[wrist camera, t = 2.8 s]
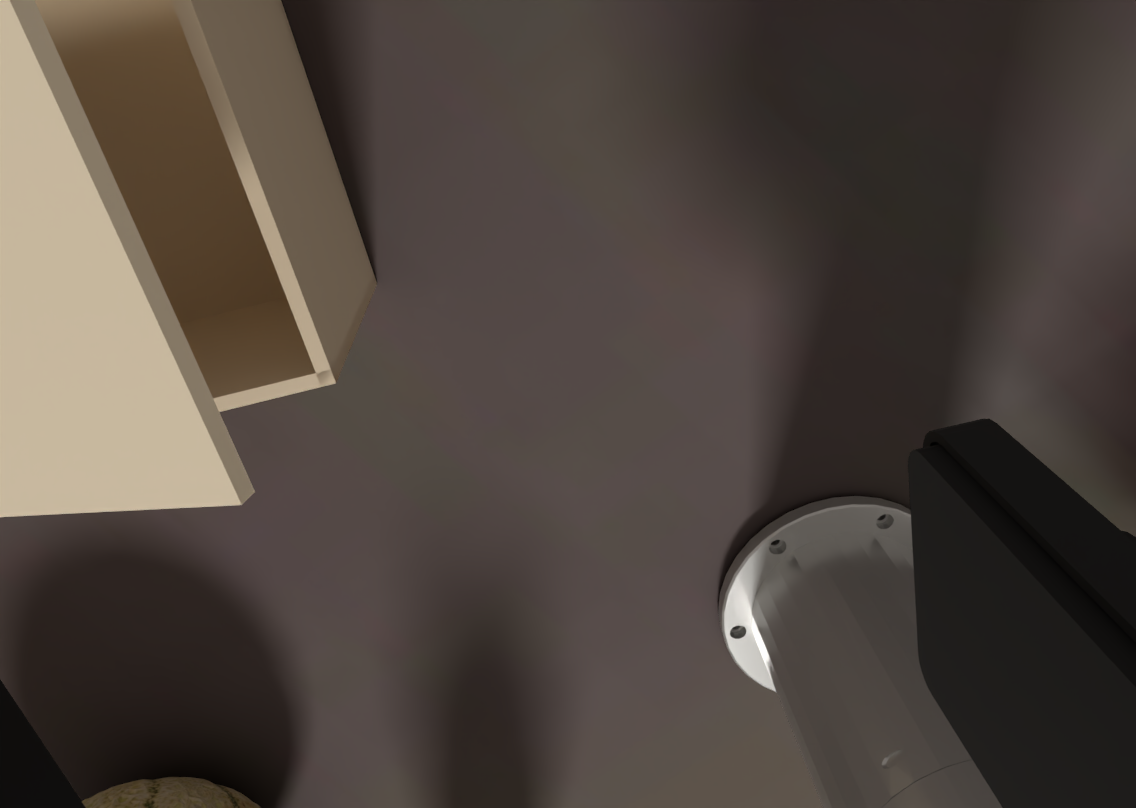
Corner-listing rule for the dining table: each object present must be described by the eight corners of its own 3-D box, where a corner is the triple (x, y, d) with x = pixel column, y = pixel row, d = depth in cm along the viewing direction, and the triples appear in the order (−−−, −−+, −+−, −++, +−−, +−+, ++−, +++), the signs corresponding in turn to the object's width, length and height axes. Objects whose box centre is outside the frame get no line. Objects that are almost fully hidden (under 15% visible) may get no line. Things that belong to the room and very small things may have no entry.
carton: (247, -100, 32) (136, -143, 22) (377, 283, 39) (336, 383, 29) (-219, 22, 33) (-529, 33, 23) (-16, 380, 39) (-189, 511, 29)
